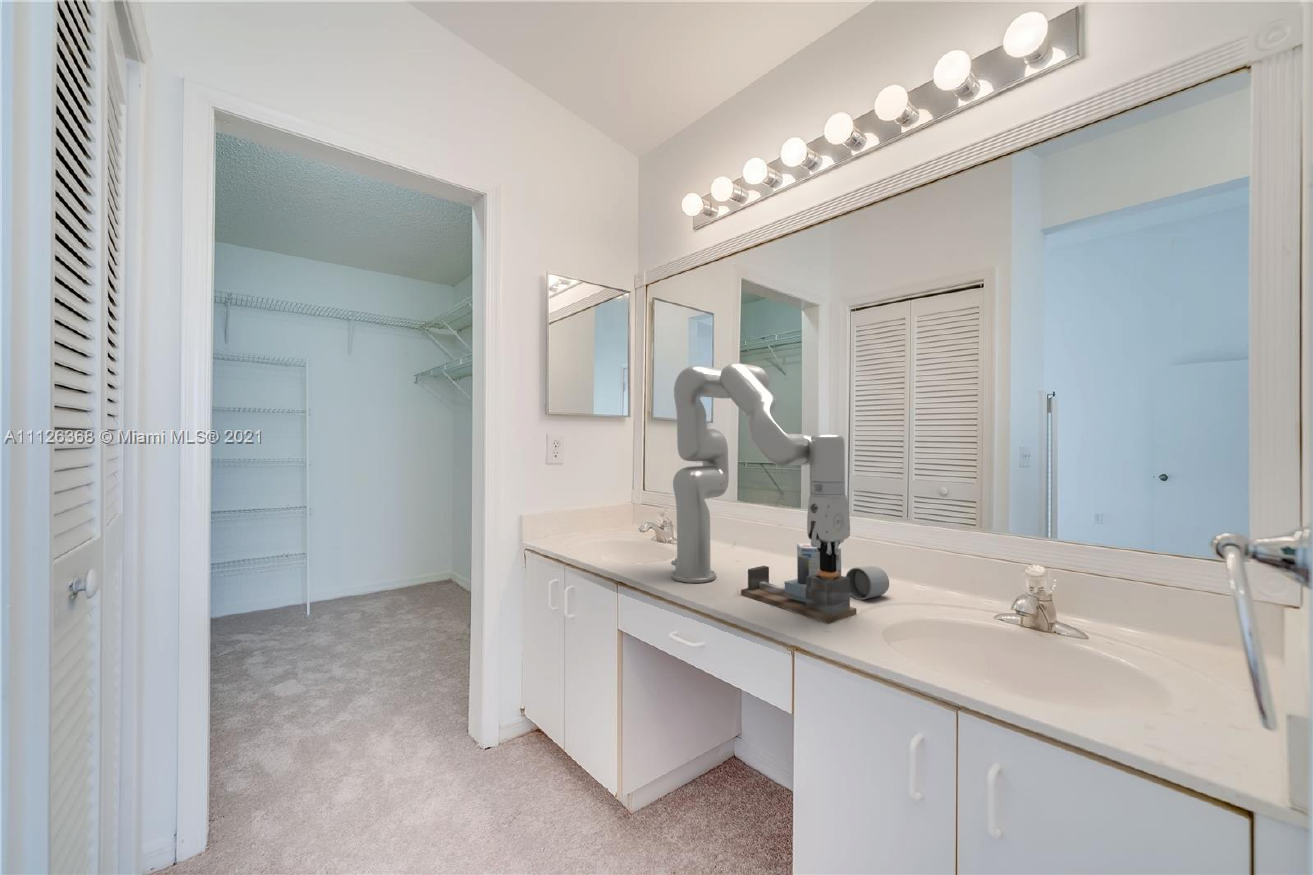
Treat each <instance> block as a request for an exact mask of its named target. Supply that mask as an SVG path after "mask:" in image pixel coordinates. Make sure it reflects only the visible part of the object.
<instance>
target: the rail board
mask: <svg viewBox="0 0 1313 875" xmlns="http://www.w3.org/2000/svg"><path fill="white" fill-rule="evenodd" d="M806 590H807V602H803V601H800V600H797V599H793V598H790V597H787V593H786V592H785V586H780V585H777V584H774V583H770V566H767V565H760V566H755V567H751V568H747V588H742V589H740V595H742V596H744V597H748V598H751V599H754V600H757V601H760V602H763V603H767V604H769V605H772V604H773V605H772V606H774V607H775V606H776V607H778V608H782V609H784V610H787V609H788V610H787V611H790V610H791V611H790V612H793V613H797V614H800V615H803V616H805V617H808V618H812V619H814V618H815V620H817V619H818V620H817V621H821V622H824V623H827V624H831V623H834V622H838V621H840V620H844V619H846V618H849V617H851V616H855V615H857V608H856V607H853V606H850V605H851V594H850V578H848V577H846V576H843V575H841V576H840V575H838V577H837V578H834V580H826V579H822V577H820V576H818V574H814V575H810V576H806Z"/></svg>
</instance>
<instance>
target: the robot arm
mask: <svg viewBox="0 0 1313 875" xmlns="http://www.w3.org/2000/svg"><path fill="white" fill-rule="evenodd" d="M769 383H770V380H769V375H768V374H767V372H766V371H765V369H764V368H762V367H760V366H758V365H752V364H748V363H747V364H745V363H741V362H737V363H736V362H735V363H730V364H728V365H726V366H724V367H723V368H719V367H713V366H707V365H691V366H688V367H686V368H684V369H683V370H682V371H680V373H679V374H678V375H677V378H676V380H675V382H674V387H673V396H674V398H673V399H674V405H675V412H676V440H677V441H676V444H677V453H678V456H679V458H680V459H682V460H683V461H687V462H702V465H690V466H686V467H682V468H680V469H679V470H678V471H677V472H676V473H675V475H674V476H673V478H672V488H673V494H674V498H675V499H674V500H675V504H676V505H675V506H676V558H674V559H673V560H671V562H670V564H671V565H672V566H675V567H674V568H675V569H674V570H673V571H672V572H671V578H672V579H673V580H675V581H678V582H680V583H681V582H683V583H691V584H696V583H697V584H698V583H701V584H702V583H708V582H713V581H714V580H716V578H717V573H716V572H715V571H713V570H712V569H711V568H712V567H711V515H710V510H709V506H708V504H707V502H706V500H705V499H713V498H719V497H721V496H723V495H724V494H726V492H727V490H728V487H729V480H730V479H729V478H730V475H729V473H730V471H729V447H728V441H727V439H726V436H725V435H724V433H722V432H721V431H720V430H717V429H714V428H708V425H707V424H708V423H707V412H706V408H705V405H704V404H703V402H702V400H701V398H703V397H705V398H714V399H715V398H716V399H731V400H732V401H733V403H734V404H735V405H736V406H737V407H738V409H739V410H740V411H741V412H742V414H743V415H744V416H745V417H746V419H747V420H748V425H747V426H748V430H749V434H750V438H751V439H752V441H753V442H754V444H755V446H756V447H757V448H758V449H759V450H760V452H761V453H762V454H763V455H764V457H766V458H767V459H768V460H769V462H771V463H772V464H774V465H776V466H780V467H800V466H809V500H808V506H807V516H806V519H807V520H806V527H807V528H806V530H807V532H806V533H807V537H808V539H809V540H810V543H811V546H812V547H817V549H818V553H820V570H821V571H825V572H830V573H833V572H836V554H837V553H838V546H839V547H840V544H842V543H844V542H845V540H847V539H849V538H850V536H851V521H850V519H851V518H850V509H849V503H848V498H847V495H846V472H845V471H846V463H845V462H846V456H845V452H846V451H845V439H844V437H843V436H842V435H841V434H837V433H835V434H834V433H831V434H830V433H829V434H828V433H824V434H823V433H822V434H819V433H818V434H814V435H813V434H807V433H786V432H785V431H784V430H783V429H782V428H781V427H780V426H779V425H778V424H777V422H776V421H775V420H774V418H773V417H772V415H771V414H772V413H773V412H774V411H775V408H776V406H777V399H776V397H775V396H774V394H772V393H771V391H769V389H768V388H769Z"/></svg>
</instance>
